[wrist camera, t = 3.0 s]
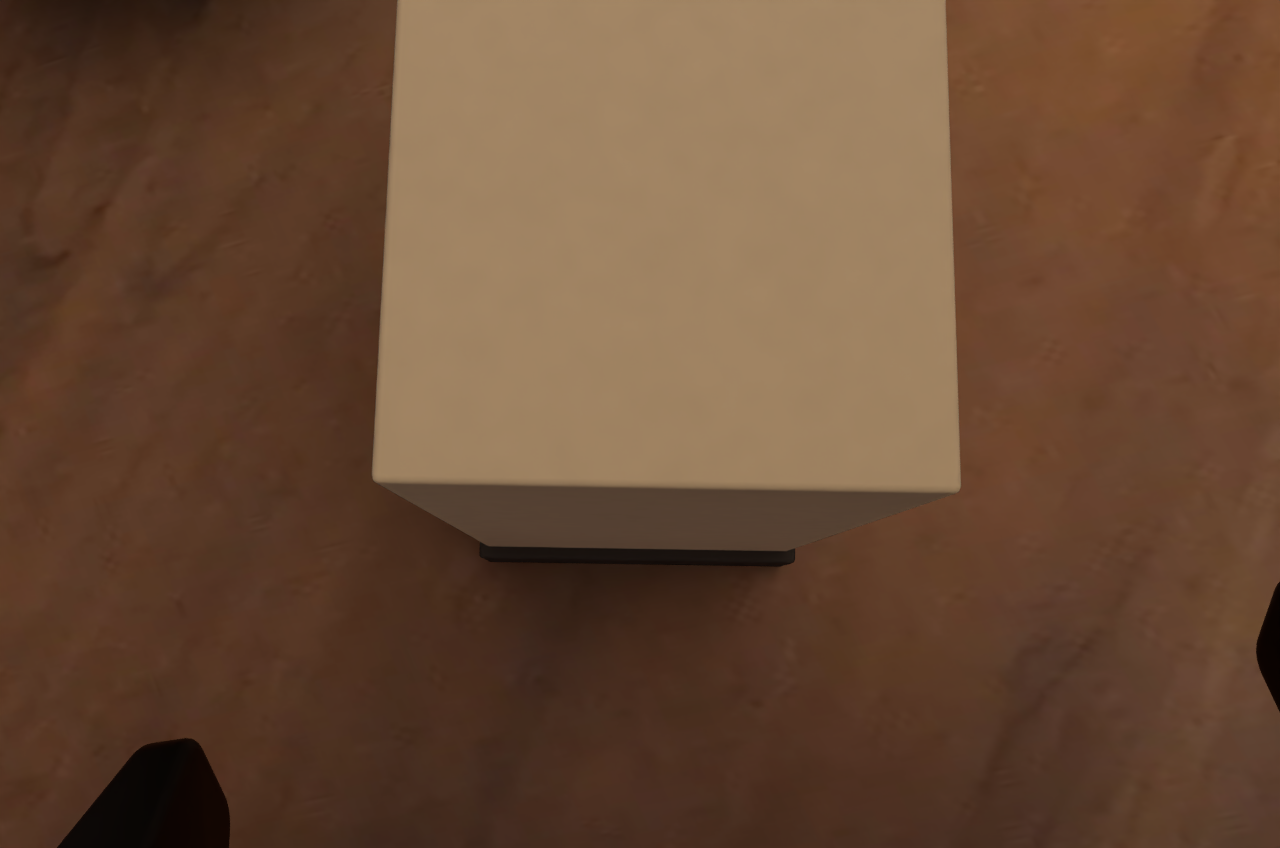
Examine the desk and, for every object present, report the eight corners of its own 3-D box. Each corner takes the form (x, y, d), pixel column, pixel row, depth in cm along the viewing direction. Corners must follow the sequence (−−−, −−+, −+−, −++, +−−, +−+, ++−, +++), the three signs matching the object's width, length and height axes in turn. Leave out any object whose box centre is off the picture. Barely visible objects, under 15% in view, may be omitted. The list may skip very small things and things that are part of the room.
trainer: (783, 567, 21) (975, 516, 10) (487, 561, 21) (356, 504, 10) (779, 0, 23) (939, -563, 12) (508, -8, 23) (416, -584, 12)
